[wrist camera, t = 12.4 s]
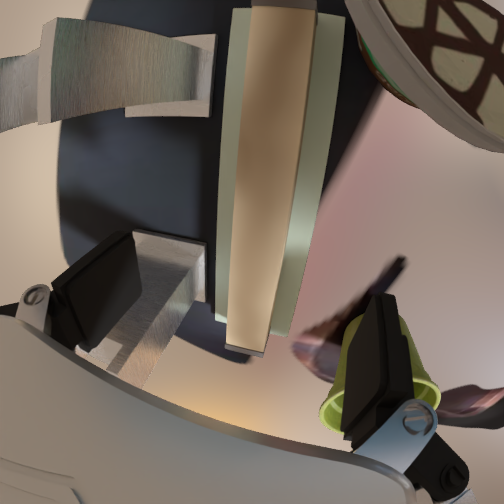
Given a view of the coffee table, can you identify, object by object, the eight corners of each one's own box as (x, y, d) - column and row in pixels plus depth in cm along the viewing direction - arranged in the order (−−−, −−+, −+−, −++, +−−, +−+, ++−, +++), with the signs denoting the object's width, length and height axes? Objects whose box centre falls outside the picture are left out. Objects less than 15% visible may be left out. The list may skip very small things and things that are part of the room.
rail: (318, 17, 12) (316, 0, 9) (270, 330, 25) (262, 357, 22) (264, 13, 12) (252, -4, 10) (235, 322, 26) (224, 348, 23)
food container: (313, 87, 15) (304, 67, 7) (333, 7, 12) (340, -74, 3) (474, 159, 14) (563, 216, 6) (494, 86, 11) (591, 100, 2)
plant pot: (308, 345, 26) (296, 423, 19) (363, 276, 21) (373, 364, 14) (380, 371, 26) (383, 442, 19) (440, 315, 21) (463, 393, 14)
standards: (218, 35, 14) (73, -19, 3) (207, 298, 26) (143, 414, 15) (133, 45, 15) (-16, 45, 4) (143, 281, 27) (68, 375, 16)
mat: (344, 19, 12) (345, 17, 11) (288, 332, 26) (287, 337, 25) (235, 10, 13) (233, 8, 12) (217, 316, 27) (215, 320, 26)
